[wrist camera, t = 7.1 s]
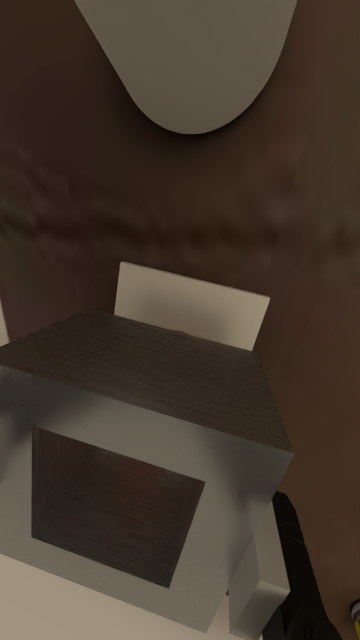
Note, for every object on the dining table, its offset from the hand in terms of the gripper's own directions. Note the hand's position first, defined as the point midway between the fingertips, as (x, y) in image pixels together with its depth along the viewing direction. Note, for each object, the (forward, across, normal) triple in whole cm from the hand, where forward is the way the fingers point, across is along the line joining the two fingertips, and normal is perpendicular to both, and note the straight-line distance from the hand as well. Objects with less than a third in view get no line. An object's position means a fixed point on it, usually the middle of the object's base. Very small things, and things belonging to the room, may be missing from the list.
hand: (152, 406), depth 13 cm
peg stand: (+8, 0, 0) cm, 8 cm away
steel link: (+1, 0, 0) cm, 1 cm away
